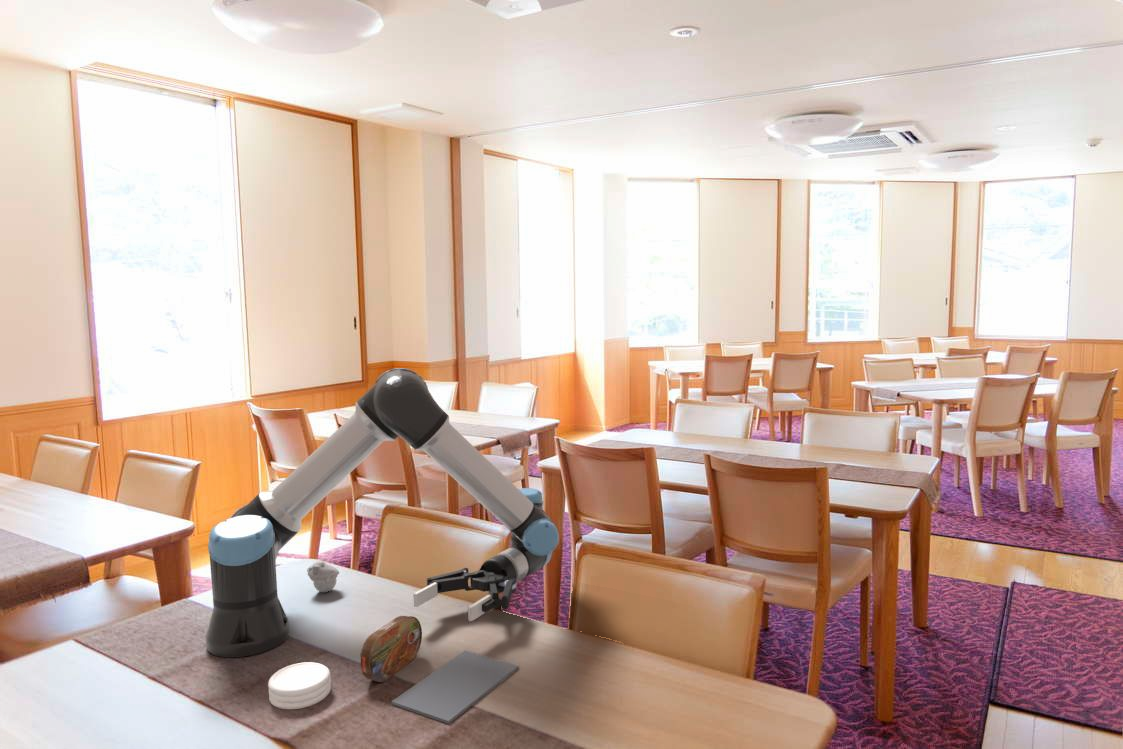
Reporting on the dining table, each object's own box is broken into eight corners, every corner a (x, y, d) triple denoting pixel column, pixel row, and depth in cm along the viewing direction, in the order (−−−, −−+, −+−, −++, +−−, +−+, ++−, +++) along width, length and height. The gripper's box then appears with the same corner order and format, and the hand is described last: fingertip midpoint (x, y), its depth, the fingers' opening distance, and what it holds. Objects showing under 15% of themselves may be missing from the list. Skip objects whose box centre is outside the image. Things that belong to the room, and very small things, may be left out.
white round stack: (342, 684, 134) (341, 665, 134) (306, 715, 125) (305, 695, 125) (295, 675, 138) (293, 657, 137) (256, 705, 128) (254, 685, 128)
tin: (372, 691, 132) (370, 644, 131) (358, 687, 133) (355, 641, 132) (424, 652, 145) (422, 609, 144) (410, 649, 147) (408, 607, 146)
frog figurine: (311, 587, 177) (309, 557, 176) (342, 585, 178) (340, 556, 177) (305, 597, 171) (303, 567, 170) (337, 596, 172) (336, 565, 171)
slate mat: (391, 704, 128) (391, 701, 127) (465, 653, 145) (465, 650, 145) (448, 724, 122) (448, 721, 121) (518, 668, 139) (518, 665, 139)
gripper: (552, 598, 163) (494, 639, 145) (458, 577, 176) (394, 612, 157) (551, 564, 162) (493, 601, 144) (457, 545, 175) (392, 577, 157)
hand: (441, 607), depth 151 cm, fingers open, 13 cm apart
